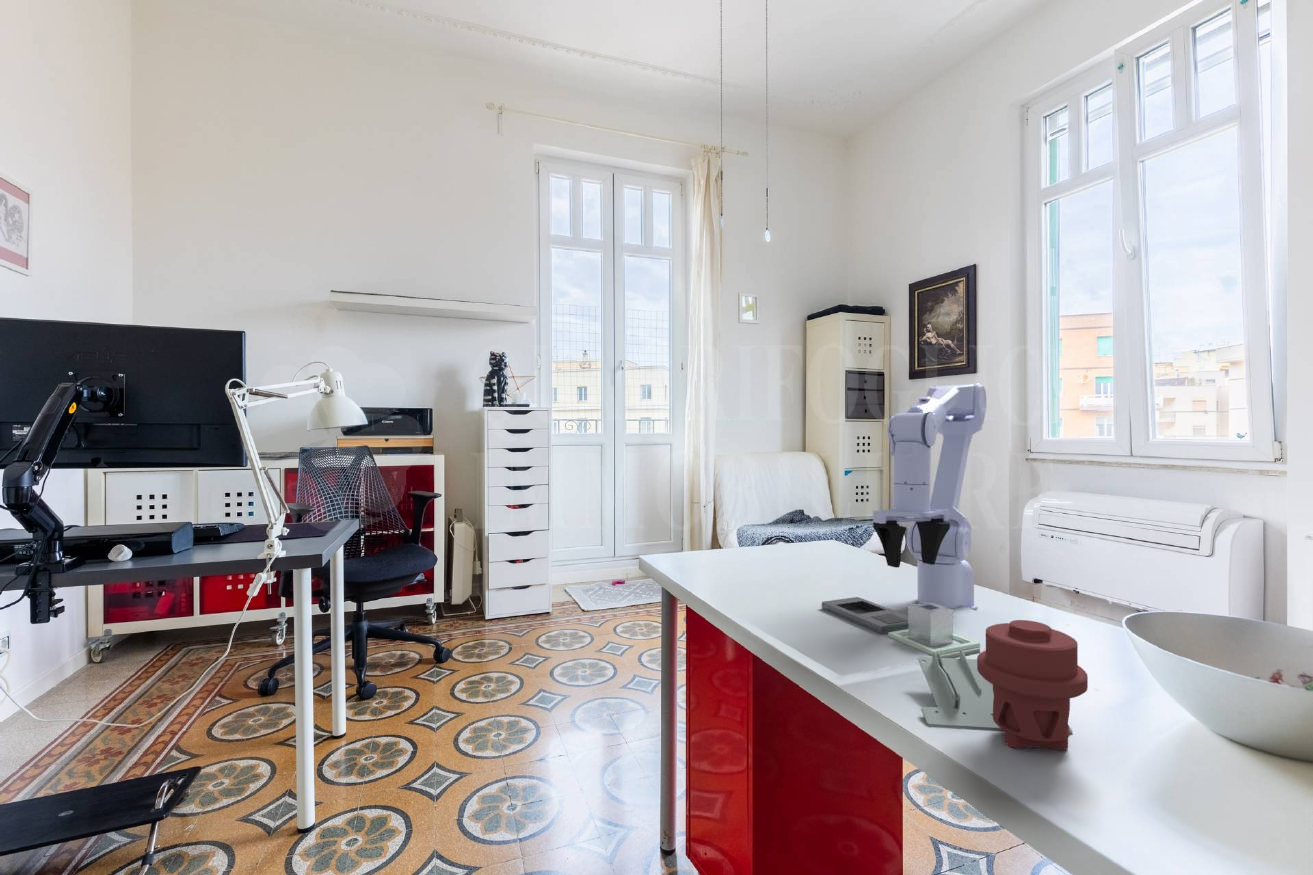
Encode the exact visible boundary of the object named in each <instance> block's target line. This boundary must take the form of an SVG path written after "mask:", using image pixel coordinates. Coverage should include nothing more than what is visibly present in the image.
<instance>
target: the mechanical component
mask: <svg viewBox="0 0 1313 875" xmlns="http://www.w3.org/2000/svg"><path fill="white" fill-rule="evenodd" d="M1078 645H1079V644H1078V641H1077V640H1076V639H1075V638H1074V637H1072V636H1070V635H1069V634H1066V633H1065V632H1062V631H1059V630H1056V629H1053V628H1051V626H1050V625H1047V624H1046V623H1043V622H1039V621H1034V620H1027V619H1015V620H1011V621H1009V623H1008V622H1006V623H996V624H992V625H990V626H988V627H986V628H985V650H983V651H981V652H980V653H978V654H977V657H976V659H977V670H978V672H979V674H980V675H981V676H982V677H983V678H984V679H985V680H987V681H988V682H990V683H991V684H993V693H994V700H993V720H994V722H995V723H996V724H997V725H998V726H999V727H1000V728H1001V729H1003V730H1004V742H1005V744H1006V745H1007V746H1008V747H1010V748H1013V749H1017V750H1018V749H1027V748H1043V749H1051V750H1057V751H1066V750H1068V749H1069V738H1070V736H1071V735H1070V729H1069V726H1070V725H1069V718H1070V711H1071V710H1070V709H1071V699H1073V698H1078V697H1080V696H1081V695H1083V694H1085V693H1087V691H1088V687H1089V683H1088V682H1089V681H1088V680H1089V679H1088V678H1089V677H1088V673H1087V672H1086V671H1085V670H1084V669H1083V667H1081V666H1080V665H1079V664H1078V658H1079V657H1078V653H1079V652H1078V648H1079V647H1078ZM1068 725H1069V726H1068Z"/></svg>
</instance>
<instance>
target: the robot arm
mask: <svg viewBox="0 0 1313 875" xmlns="http://www.w3.org/2000/svg"><path fill="white" fill-rule="evenodd" d="M986 412H987V392H986V388H985V386H984V385H983V384H982V383H981V382H977V383H970V384H951V385H950V384H949V385H935V384H934V385H931V386H930V387H929V388H928V390H927V392H926V396H921V397H919V399H918V401H917V402H916V403H915V404H914V405H913V406H911V407H910V408H909V409H908V410H907V411H905V412H899V413H896V414H895V415H893V416H892V417H891V418H890V419H889V422H888V428H887V436H888V440H889V444H890V455H891V457H893V504H892V505H893V508H889V509H879V510H873V511H872V527H873V529H874V531H875V532H876V535H877V536H878V539H879V541H880V543H881V545H882V550H883V552H884V557H885V560H886V565H887V566H889V567H892V568H900V565H901V562H902V560H901V559H902V547H903V546H902V545H903V541H904V537H905V533H906V531H907V533H906V544H907V548H908V550H909V552H910V553H911V555H913V557H914V559H915V560H916V561H917V602H918V604H919V603H925V602H932V603H935V604H938V605H941V606H944V607H947V608H950V609H955V608H960V607H963V608H967V609H969V610H978V609H979V607H978V605H975V575H974V570H973V568H972V566H971V564H970V563H969V562H968V561H967V559H968V557H969V556H970V552H971V546H972V537H971V536H972V535H971V534H972V526H971V523H970V521H969V519H968V518H967V517H966V516H965V515H964V514H963V513H961V512H960V511H959V504H960V499H961V498H960V497H961V494H962V488H963V482H964V476H965V471H966V465H967V461H968V455H969V449H970V446H971V442H972V438H973V435H974V434H976V433H979V431H982V428H983V425H984V422H985V418H986ZM939 434H940V435H942V437H943V438H942V439H943V440H942V443H941V444H942V445H941V450H940V454H939V458H938V463H937V467H936V473H935V479H934V482H933V483H934V484H933V488H932V494H931V468H932V467H931V466H932V465H931V464H932V463H931V456H932V455H931V450H932V448H931V447H933V446H935V443H936V441H937V440H936V439H937V435H939ZM908 522H909V523H910V522H911V524H910V525H909V527H908V529H907V527H906V526H901V525H900V523H908Z"/></svg>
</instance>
